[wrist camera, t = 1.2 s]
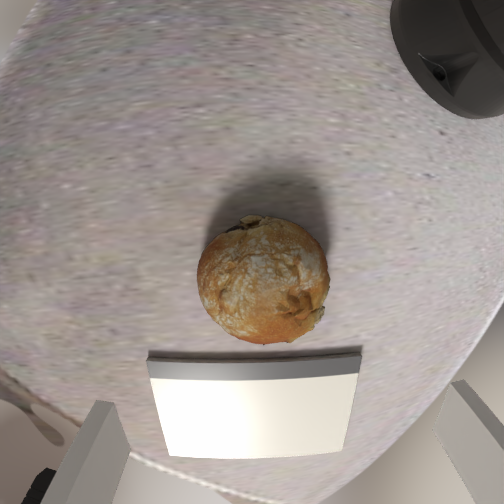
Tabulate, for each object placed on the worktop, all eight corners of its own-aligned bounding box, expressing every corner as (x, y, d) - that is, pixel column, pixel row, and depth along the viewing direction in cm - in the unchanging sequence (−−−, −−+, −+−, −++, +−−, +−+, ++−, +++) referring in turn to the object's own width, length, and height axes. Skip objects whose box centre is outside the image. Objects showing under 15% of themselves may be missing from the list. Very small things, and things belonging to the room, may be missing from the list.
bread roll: (294, 206, 29) (285, 174, 21) (350, 308, 27) (363, 312, 19) (199, 260, 30) (160, 246, 22) (250, 360, 28) (225, 382, 20)
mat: (359, 352, 29) (361, 355, 28) (340, 447, 32) (341, 451, 31) (148, 357, 28) (146, 360, 28) (170, 451, 32) (169, 455, 31)
